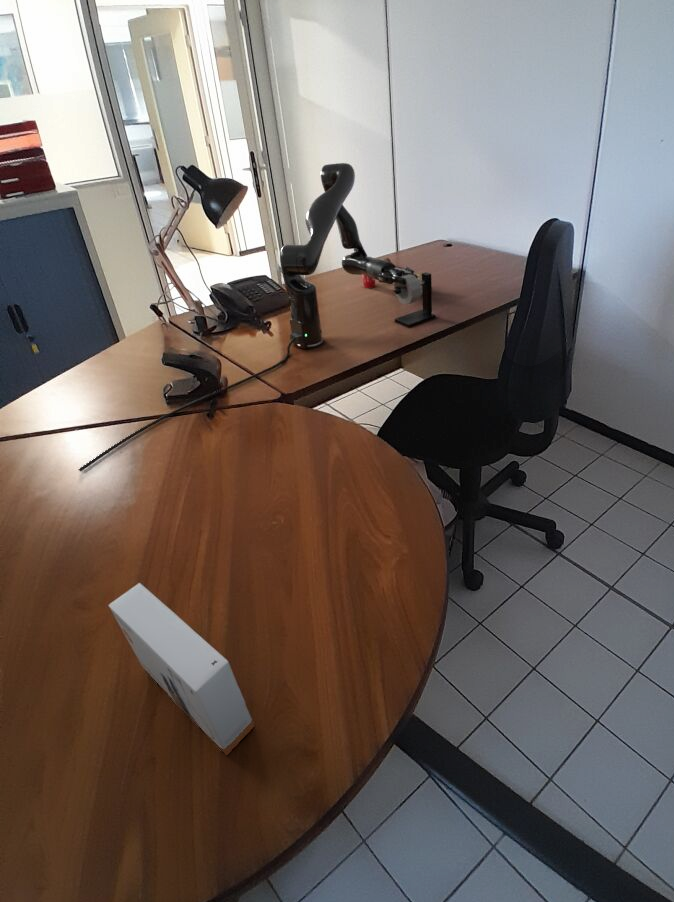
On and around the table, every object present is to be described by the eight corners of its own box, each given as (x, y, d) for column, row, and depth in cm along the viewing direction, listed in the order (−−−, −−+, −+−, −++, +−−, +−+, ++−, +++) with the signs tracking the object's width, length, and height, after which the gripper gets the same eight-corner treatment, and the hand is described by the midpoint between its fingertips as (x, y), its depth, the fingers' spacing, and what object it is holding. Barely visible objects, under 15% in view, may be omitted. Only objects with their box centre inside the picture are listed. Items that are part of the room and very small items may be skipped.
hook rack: (404, 329, 194) (402, 285, 186) (390, 323, 199) (387, 280, 191) (436, 317, 202) (436, 275, 194) (422, 312, 208) (421, 270, 200)
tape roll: (412, 307, 191) (411, 280, 186) (394, 300, 198) (393, 274, 193) (421, 304, 194) (421, 277, 189) (404, 297, 200) (403, 272, 195)
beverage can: (370, 289, 234) (368, 261, 227) (361, 287, 236) (358, 259, 230) (377, 285, 237) (376, 258, 231) (368, 283, 240) (366, 256, 234)
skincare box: (140, 673, 83) (105, 603, 75) (172, 647, 87) (142, 578, 78) (224, 761, 72) (194, 691, 63) (256, 728, 75) (233, 657, 67)
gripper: (364, 264, 196) (394, 274, 184) (395, 256, 203) (426, 265, 192) (366, 284, 200) (395, 295, 188) (396, 275, 207) (426, 285, 196)
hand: (410, 280), depth 190 cm, fingers closed on tape roll, 4 cm apart
